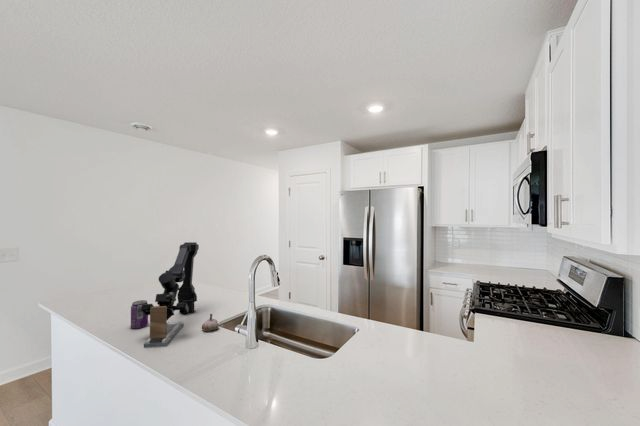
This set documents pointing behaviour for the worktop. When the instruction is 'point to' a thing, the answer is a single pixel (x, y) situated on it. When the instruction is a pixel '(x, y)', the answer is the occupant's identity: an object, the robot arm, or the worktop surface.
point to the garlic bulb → (210, 324)
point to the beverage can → (138, 315)
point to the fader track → (171, 333)
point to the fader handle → (158, 323)
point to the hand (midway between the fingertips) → (159, 327)
